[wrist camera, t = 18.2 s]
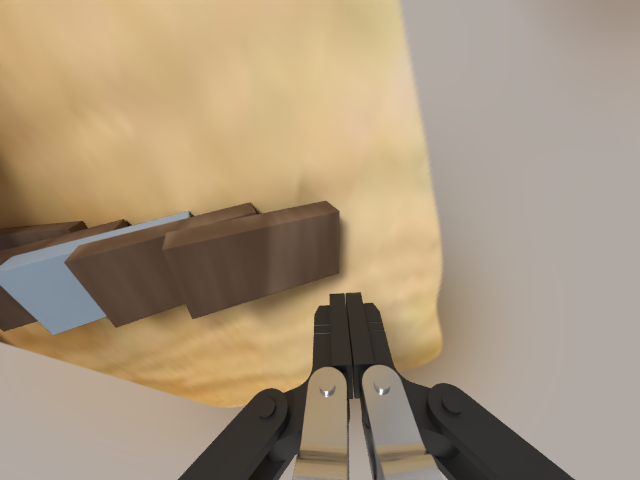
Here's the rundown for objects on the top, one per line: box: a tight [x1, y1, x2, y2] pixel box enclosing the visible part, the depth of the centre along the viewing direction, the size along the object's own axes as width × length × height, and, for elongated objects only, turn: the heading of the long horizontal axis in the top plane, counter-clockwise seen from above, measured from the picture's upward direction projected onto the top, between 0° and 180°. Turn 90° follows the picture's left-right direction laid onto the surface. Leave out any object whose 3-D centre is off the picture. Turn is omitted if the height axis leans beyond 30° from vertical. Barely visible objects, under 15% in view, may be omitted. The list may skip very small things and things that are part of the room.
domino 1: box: [0, 221, 88, 251], centre depth 20 cm, size 2×5×10 cm
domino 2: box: [0, 219, 129, 331], centre depth 17 cm, size 2×5×10 cm
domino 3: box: [0, 211, 191, 335], centre depth 17 cm, size 2×5×10 cm
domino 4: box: [64, 203, 257, 328], centre depth 16 cm, size 2×5×10 cm
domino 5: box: [162, 201, 339, 319], centre depth 16 cm, size 2×5×10 cm
